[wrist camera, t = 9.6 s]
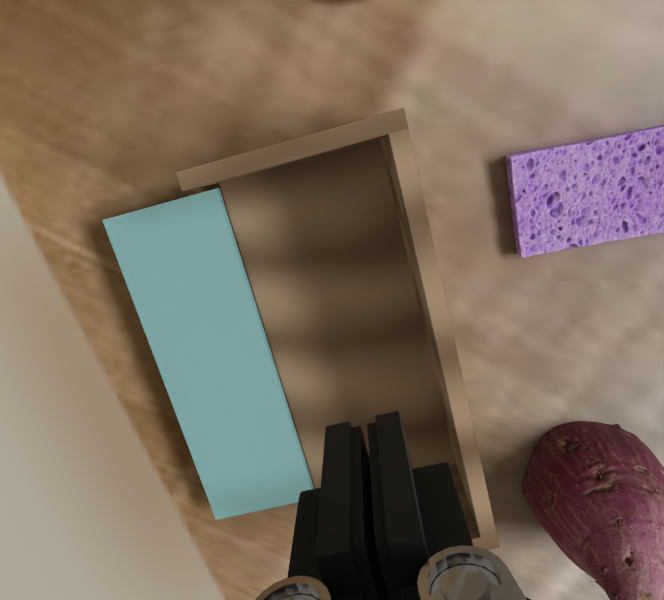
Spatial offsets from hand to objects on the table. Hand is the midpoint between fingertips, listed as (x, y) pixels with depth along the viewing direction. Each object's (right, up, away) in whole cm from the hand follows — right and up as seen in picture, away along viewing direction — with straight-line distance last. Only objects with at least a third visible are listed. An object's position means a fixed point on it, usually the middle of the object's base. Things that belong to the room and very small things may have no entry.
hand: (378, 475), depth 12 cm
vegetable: (+19, -10, +30) cm, 37 cm away
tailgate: (-5, 0, +26) cm, 27 cm away
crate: (0, +2, +27) cm, 27 cm away
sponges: (+17, +12, +25) cm, 32 cm away
